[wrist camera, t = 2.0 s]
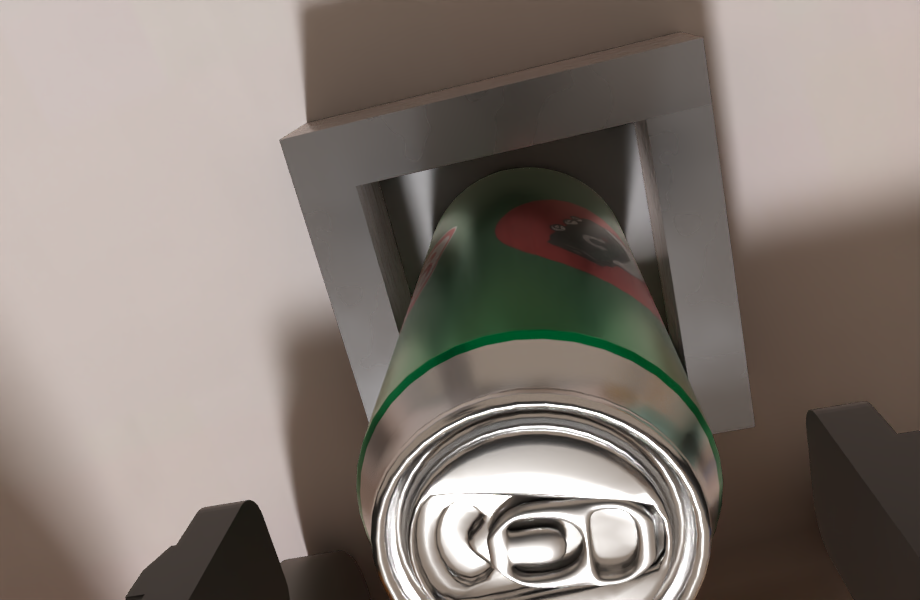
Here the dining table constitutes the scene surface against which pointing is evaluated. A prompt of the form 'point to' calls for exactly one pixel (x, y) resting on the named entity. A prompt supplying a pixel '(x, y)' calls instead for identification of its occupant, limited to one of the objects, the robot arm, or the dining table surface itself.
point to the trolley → (325, 577)
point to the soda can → (536, 415)
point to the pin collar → (517, 126)
